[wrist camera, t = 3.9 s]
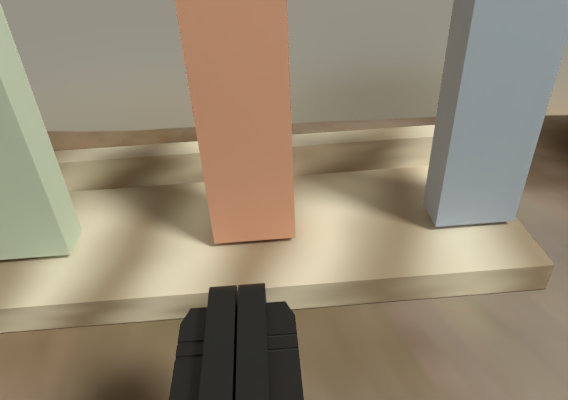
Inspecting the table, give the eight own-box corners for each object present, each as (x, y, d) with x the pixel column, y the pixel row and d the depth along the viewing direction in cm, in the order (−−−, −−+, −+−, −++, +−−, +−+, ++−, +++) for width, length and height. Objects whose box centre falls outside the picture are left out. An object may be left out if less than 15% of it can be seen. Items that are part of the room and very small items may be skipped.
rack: (-39, 336, 21) (-76, 279, 19) (51, 190, 31) (33, 143, 29) (545, 289, 22) (567, 230, 20) (453, 162, 32) (461, 114, 30)
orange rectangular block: (214, 243, 23) (170, -23, 16) (216, 219, 25) (177, -32, 18) (295, 237, 23) (285, -30, 17) (292, 213, 25) (281, -38, 18)
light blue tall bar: (435, 226, 24) (482, -41, 17) (422, 204, 25) (461, -48, 18) (514, 220, 24) (592, -48, 17) (496, 198, 25) (561, -54, 19)
